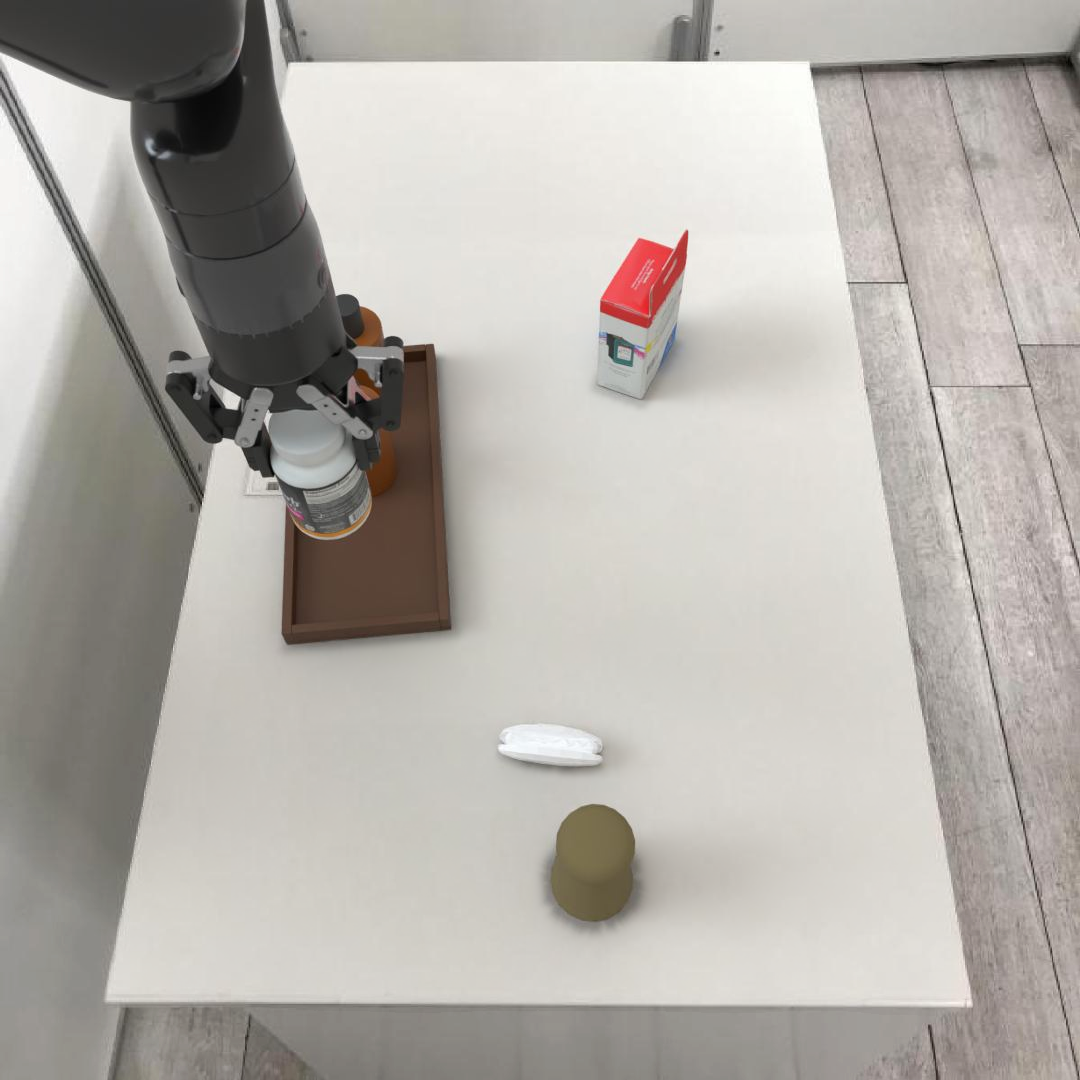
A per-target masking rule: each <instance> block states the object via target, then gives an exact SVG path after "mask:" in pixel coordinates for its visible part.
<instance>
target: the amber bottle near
mask: <svg viewBox="0 0 1080 1080" xmlns="http://www.w3.org/2000/svg"><path fill="white" fill-rule="evenodd" d="M354 379H355V378H354ZM355 382H356V384H357V386H358V387H359V388H360V389H361V390H362V391H363V392H364V393H365V394H366V395H367V396H368V397H369V398H370V399H371V400H372V399H375V398H379V397H380V396H379V395H378V394H377V393H376V392H375V391H373V390H372V389H370V388H368V387H366V386H362V385H359V382H358V381H357V380H356V379H355ZM378 433H379V437H380V459H379V462H374V463H372V470H365V472H366V476H367V480H368V484H369V487H370V491H371V497H374V496H377V495H379V494H381V493H383V492H385V491H386V490H387V489H388V488H389V487H390V486H391V485H392V484H393V482H394V481H395V478H396V476H397V464H396V459H395V455H394V451H393V446H392V442H391V437H390V433H389V431H386V430H384V429H382V428H381V429H379V430H378Z"/></svg>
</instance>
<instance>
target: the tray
mask: <svg viewBox="0 0 1080 1080" xmlns="http://www.w3.org/2000/svg"><path fill="white" fill-rule="evenodd" d="M403 354H404V380H403V395H402V410H401V425H400V428H399V429H398V430H395V431H389V433H390V437H391V442H392V446H393V451H394V455H395V459H396V464H397V476H396V478H395V481H394V482H393V484H392V485H391V486H390V487H389V488H388V489H387V490H386V491H385V492H383V493H381V494H379V495H377V496H374V497H371V498H372V504H371V510H370V513H369V515H368V517H367V519H366V521H365V522H364V523H363V524H362V525H361V526H360V527H359V528H358V529H357V530H356V531H354V532H353V533H351V534H349V535H347V536H345V537H342V538H339V539H332V540H323V539H317V538H313V537H311V536H309V535H307V534H305V533H304V532H302V531H301V530H300V529H299V528H298V527H297V526H296V524H295V523H294V521H293V519H292V516H291V514H290V512H289V509H288V507H287V504H286V503H285V516H284V517H285V521H284V522H285V523H284V549H283V550H284V552H283V577H282V578H283V579H282V604H281V605H282V606H281V632H280V633H281V636H282V639H283V640H284V642H285V644H286V645H297V644H307V643H321V642H330V641H340V640H341V641H342V640H352V639H354V640H355V639H364V638H375V637H385V636H387V637H388V636H397V635H406V634H418V633H419V634H420V633H429V632H439V631H451V630H452V621H451V618H452V617H451V601H450V584H449V583H450V581H449V565H448V550H447V549H448V547H447V531H446V529H447V528H446V515H445V514H446V512H445V498H444V497H445V494H444V478H443V477H444V476H443V461H442V460H443V459H442V444H441V443H442V442H441V440H442V439H441V426H440V423H441V422H440V408H439V407H440V406H439V390H438V388H439V387H438V372H437V371H438V369H437V355H436V349H435V344H434V343H424V344H410V345H403Z"/></svg>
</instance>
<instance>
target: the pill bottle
mask: <svg viewBox="0 0 1080 1080" xmlns="http://www.w3.org/2000/svg"><path fill="white" fill-rule="evenodd" d="M267 426H268V428H267V430H268V433H269V436H270V439H271V442H272V445H271V449H270V461H271V466H272V469H273V471H274V474H275V476H274V477H275V478H276V482H277V483H278V486H279V489H280V492H281V494H282V496H283V499H284V502H285V505H286V504H287V507H288V509H289V512H290V514H291V516H292V519H293V521H294V523H295V524H296V526H297V527H298V528H299V529H300V530H301V531H302V532H304V533H305V534H307V535H309V536H311V537H313V538H317V539H323V540H332V539H339V538H342V537H345V536H347V535H349V534H351V533H353V532H354V531H356V530H357V529H358V528H359V527H360V526H361V525H362V524H363V523H364V522H365V521H366V519H367V517H368V515H369V513H370V510H371V504H372V498H371V491H370V487H369V484H368V480H367V476H366V472H365V471H361V470H360V467H359V463H358V460H357V456H356V452H355V449H354V445H353V441H352V434H351V433H350V432H349V431H348V430H347V429H346V428H345V427H344V426H342V425H341V424H339V425H334V424H333V423H332V422H331V421H330V420H329V419H327V418H326V417H325V416H324V415H323V414H322V413H321V412H320V411H319V410H312V411H307V410H296V409H295V410H291V411H287V412H282V413H271V415H270V418H269V420H268V425H267Z"/></svg>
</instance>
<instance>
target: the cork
mask: <svg viewBox="0 0 1080 1080" xmlns="http://www.w3.org/2000/svg"><path fill="white" fill-rule="evenodd" d="M555 850H556V857H555V859H554V862H553V864H552V866H551V871H550V880H549V881H550V885H551V890H552V894H553V897H554V898H555V900H556V901H557V903H558V905H559V906H560V908H561V909H562V910H564V911H565V913H567V914H568V915H569V916H571V917H573V918H576V919H578V920H580V921H584V922H595V923H597V922H601V921H603V920H609V919H610V918H612V917H614V916H615V915H617V914H618V913H620V912H621V911H622V909H623V908H624V907H625V905H627V903H628V902H629V900H630V897H631V894H632V891H633V884H634V874H633V871H632V867H631V864H632V862H633V860H634V857H635V854H636V839H635V835H634V831H633V828H632V826H631V825H630V824H629V822H628V820H627V818H626V817H625V816H623V815H622V814H621V813H620V812H619V811H618V810H617V809H615V808H613V807H610V806H608V805H605V804H599V803H591V804H586V805H582V806H581V805H580V806H579V807H577V808H576V809H574V810H573V811H571V812H570V813H568V814H567V816H566V817H565V818H564V819H563V821H561V823H560V826H559V828H558V831H557V833H556V842H555Z"/></svg>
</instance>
